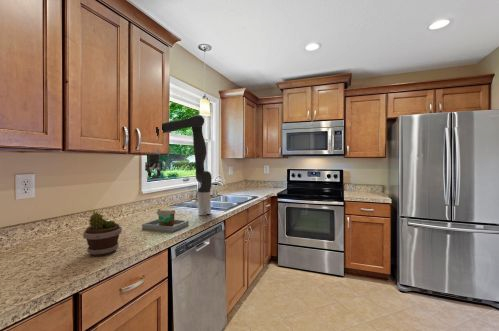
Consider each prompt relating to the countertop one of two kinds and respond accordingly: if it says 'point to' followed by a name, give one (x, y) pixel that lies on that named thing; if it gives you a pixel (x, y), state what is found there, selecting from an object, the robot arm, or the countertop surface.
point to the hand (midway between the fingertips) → (154, 176)
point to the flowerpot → (102, 235)
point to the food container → (166, 217)
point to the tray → (155, 226)
